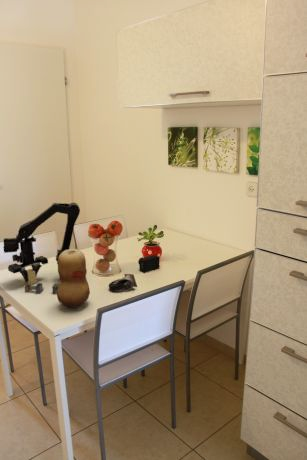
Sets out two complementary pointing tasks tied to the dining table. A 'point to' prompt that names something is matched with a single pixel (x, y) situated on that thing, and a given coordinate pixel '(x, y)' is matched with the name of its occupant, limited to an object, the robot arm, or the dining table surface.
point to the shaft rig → (40, 288)
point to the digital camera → (148, 263)
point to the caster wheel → (123, 283)
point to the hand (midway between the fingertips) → (30, 280)
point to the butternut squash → (72, 278)
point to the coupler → (31, 277)
